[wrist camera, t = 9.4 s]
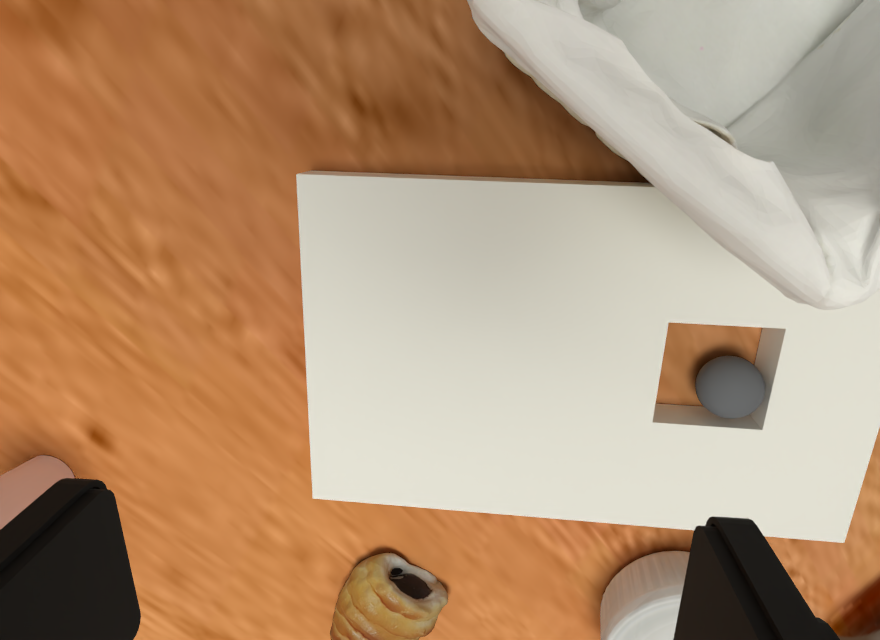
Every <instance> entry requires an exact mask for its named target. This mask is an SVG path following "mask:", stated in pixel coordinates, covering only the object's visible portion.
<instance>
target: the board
mask: <svg viewBox="0 0 880 640" xmlns="http://www.w3.org/2000/svg"><path fill="white" fill-rule="evenodd" d="M296 178H297V198H298V218H299V237H300V257H301V277H302V296H303V316H304V335H305V355H306V375H307V394H308V414H309V434H310V453H311V473H312V493H313V498H314V499H326V500H338V501H350V502H362V503H373V504H385V505H397V506H409V507H421V508H433V509H445V510H457V511H469V512H481V513H493V514H505V515H517V516H529V517H541V518H553V519H565V520H577V521H589V522H601V523H613V524H625V525H637V526H649V527H661V528H673V529H685V530H695V528H696V526H705V525H706V522H707V520H708V519H709V517H712V516H714V517H731V518H748V519H751V520H753V521H754V523H755V524H756V525H757V526H758V528H759V530H760V531H761V533H762V534H763V536H769V537H781V538H793V539H805V540H817V541H829V542H841V543H844V542H845V539H846V535H847V532H848V529H849V526H850V522H851V519H852V516H853V512H854V509H855V506H856V503H857V499H858V496H859V493H860V489H861V486H862V483H863V480H864V476H865V473H866V470H867V466H868V463H869V460H870V457H871V453H872V450H873V447H874V443H875V440H876V437H877V434H878V430H879V427H880V289H879V290H877V291H876V292H875V293H874V294H873V295H871V296H870V297H869V298H868V299H866V300H865V301H863V302H861V303H858V304H854V305H851V306H847V307H844V308H840V309H833V310H821V309H817V308H815V307H813V306H810V305H808V304H800V303H797V302H795V301H793V300H792V299H789V298H787V297H785V296H784V295H783V294H782V293H781V292H780V291H779V290H778V289H776V288H775V287H774V286H772V285H771V284H770V283H769V282H767V281H766V280H765V279H763V278H762V277H761V276H760V275H758V274H757V273H756V272H755V271H753V270H752V269H751V268H750V267H748V266H747V265H746V264H745V263H743V262H742V261H741V260H739V259H738V258H737V257H735V256H734V255H733V254H731V253H730V252H728V251H727V250H726V249H724V248H723V247H722V246H721V245H720V244H718V243H717V242H716V241H715V240H714V239H713V238H712V237H710V236H709V235H708V234H707V233H706V232H705V231H704V230H703V229H701V228H700V227H699V226H698V225H697V224H696V223H695V222H694V221H693V220H692V219H691V218H690V217H689V216H688V215H687V214H686V213H684V212H683V211H682V210H681V209H680V208H679V207H678V206H676V205H675V204H674V203H673V202H672V201H670V200H669V199H668V198H667V197H666V196H665V195H664V194H663V193H662V192H660V191H659V190H658V189H657V188H656V187H655V186H654V185H653V184H651V183H642V182H614V181H587V180H559V179H531V178H503V177H476V176H448V175H420V174H392V173H365V172H337V171H307V172H303V173H299V174H296ZM669 322H672V323H690V324H708V325H726V326H744V327H762V332H761V337H760V341H759V346H758V350H757V355H756V360H755V364H754V366H755V367H756V368H757V369H758V370H759V371H760V373H761V375H762V377H763V379H764V383H765V395H764V398H763V401H762V403H761V404H760V406H759V407H758V408H757V409H756V410H755V411H754V412H752V413H751V414H749V415H747V416H744V417H741V418H735V419H731V418H723V417H719V416H717V415H715V414H713V413H711V412H710V411H708V410H707V409H706V408H705V407H702V406H687V405H672V404H657V403H656V397H657V391H658V385H659V378H660V372H661V366H662V360H663V354H664V348H665V342H666V335H667V329H668V323H669Z"/></svg>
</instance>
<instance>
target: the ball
mask: <svg viewBox="0 0 880 640" xmlns="http://www.w3.org/2000/svg"><path fill="white" fill-rule="evenodd" d="M695 387H696V393H697V396H698V399H699V401H700V402H701V404H702V405H703V406H704V407H705V408H706V409H707V410H708V411H710V412H711V413H713V414H715V415H717V416H719V417H723V418H731V419H735V418H741V417H744V416H747V415H749V414H751V413H752V412H754V411H755V410H756V409H757V408H758V407H759V406H760V404H761V403H762V401H763V398H764V395H765V383H764V379H763V377H762V375H761V373H760V371H759V370H758V369H757V368H756V367H755V366H754V365H753V364H752V363H750V362H749V361H747V360H745V359H743V358H740V357H736V356H721V357H717V358H715V359H712V360H710V361H709V362H707V363H706V364H705V365H704V366H703V367H702V368H701V370H700V371H699V373H698V375H697V378H696V384H695Z"/></svg>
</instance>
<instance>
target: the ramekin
mask: <svg viewBox="0 0 880 640" xmlns="http://www.w3.org/2000/svg"><path fill="white" fill-rule="evenodd" d="M689 554H690V552H685V551H663V552H658V553H653V554H650V555H647V556H644V557H641V558H639V559H637V560H635V561H633V562H632V563H630V564H629V565H627V566H626V567H624V568H623V569H622V570H621V571H620V572H619V573H618V574H616V575H615V577H614V578H613V579H612V580H611V581H610V584H609V585H608V586H607V588H606V591H605V593H604V594H603V599H602V602H601V610H600V626H601V640H673V639H674V633H675V628H676V623H677V618H678V612H679V607H680V602H681V597H682V591H683V586H684V581H685V575H686V570H687V565H688V560H689Z"/></svg>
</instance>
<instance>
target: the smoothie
mask: <svg viewBox="0 0 880 640" xmlns="http://www.w3.org/2000/svg"><path fill="white" fill-rule="evenodd" d="M65 478H75V477H74V475H73V473H72V471H71V470H70V468H69V467H68V466H67V465H66V464H65V463H64V462H62V461H61V460H59V459H57V458H55V457H52V456H47V455H41V456H37V457H34V458H32V459H31V460H29V461H27V462H25V463H23V464H21V465H19V466H18V467H16V468H14V469H12V470H10V471H8V472H6V473H4V474H3V475H1V476H0V529H2V528H3V527H4V526H5V525H6V524H8V523H9V522H10V521H11V520H12V519H13V518H15V517H16V516H17V515H18V514H19V513H20V512H22V511H23V510H24V509H25V508H26V507H28V506H29V505H30V504H31V503H32V502H33V501H35V500H36V499H37V498H38V497H39V496H40V495H42V494H43V493H44V492H45V491H46V490H47V489H49V488H50V487H51V486H52V485H53V484H55V483H56V482H57V481H59V480H61V479H65Z"/></svg>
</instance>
